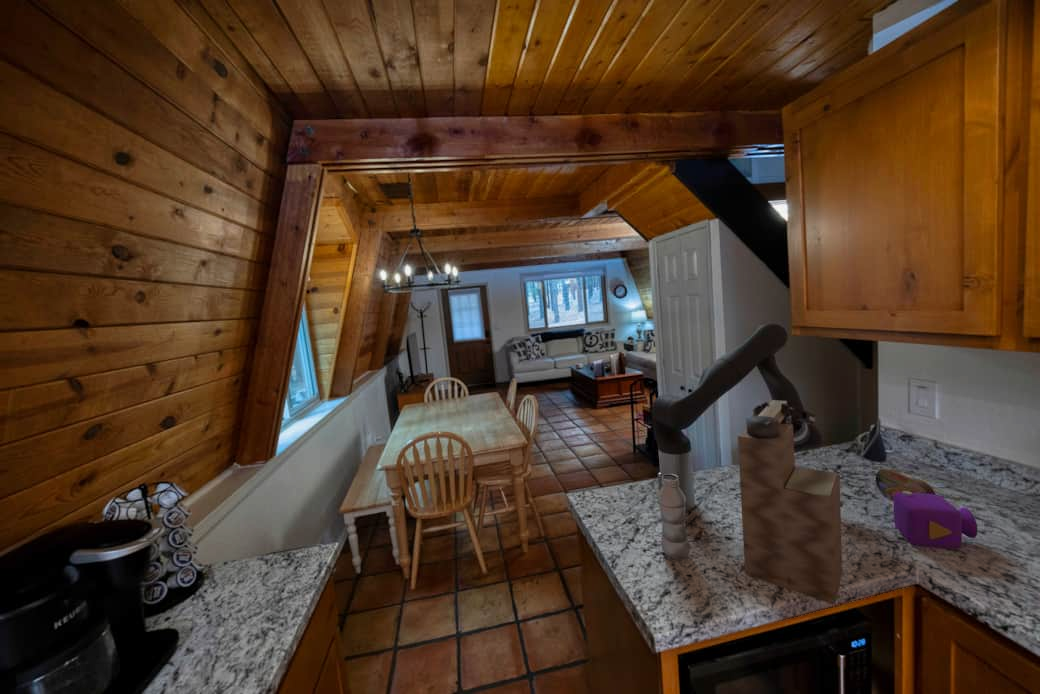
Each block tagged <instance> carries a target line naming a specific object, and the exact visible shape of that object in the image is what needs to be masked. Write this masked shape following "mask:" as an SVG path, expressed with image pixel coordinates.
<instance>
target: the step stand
mask: <svg viewBox="0 0 1040 694" xmlns="http://www.w3.org/2000/svg"><path fill="white" fill-rule="evenodd" d="M779 434H780V435H779V436H778V437H776V438H770V439H763V438H756V437H752V436H749V435H748V434H747V426H745V428H744V429H743V430H742V431H741V432H740V433H739V434H738V435H737V446H738V447H737V448H738V464H739V467H738V468H739V481H740V482H739V483H740V484H739V485H740V503H741V519H742V520H741V522H742V538H743V539H742V542H743V557H744V559H743V560H744V574H745V575H746V576H748V577H752V578H755V579H757V580H761V581H763V582H766V583H769V584H772V585H775V586H778V587H781V588H784V589H786V590H789V591H791V592H796V593H798V594H802V595H805V596H807V597H809V598H810V597H811V598H813V599H816V600H819V601H821V602H824V603H827V604H831V605H834V606H836V604H837V599H838V594H839V589H840V586H841V585H840V583H841V578H842V574H843V558H842V557H843V556H842V555H843V554H842V553H843V552H842V518H841V515H842V514H841V513H842V512H841V486H840V485H841V483H840V482H841V480H840V478H841V475H840V474H838V473H837V472H831V471H827V470H826V471H825V470H821V469H820V470H818V469H813V468H808V467H802V466H795V452H794V439H793V425H792V424H782V423H780V424H779Z"/></svg>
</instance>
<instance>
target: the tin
mask: <svg viewBox="0 0 1040 694" xmlns="http://www.w3.org/2000/svg"><path fill="white" fill-rule="evenodd" d="M875 485H876V487H877V489H878V490H879V493H880V494H882V496H884V498H886V499H887V500H889V501H891V502H894V494H895V493H898V492H903V491H909V492H912V493H922V494H935V495H937V494H936V492H935V490H934V489H933V487H932V486H931V485H930V484H928V482H926V481H925V480H922V479H919V478H917V477H915V476H912V475H910V474H907V473H905V472H902V471H900V470H898V469H895V468H882V469H879V470H878V471H877V473H876V475H875Z"/></svg>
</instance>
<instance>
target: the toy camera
mask: <svg viewBox="0 0 1040 694" xmlns="http://www.w3.org/2000/svg"><path fill="white" fill-rule="evenodd" d="M935 494H936V493H935ZM935 494H922V493H912V492H909V491H903V492H898V493H895V494H894V501H893V522H894V525H895V527H896V528H897V529H898V531H900V533H901V534H902V535H903V537H904V538H905V539H906V540H907V541H908V542H909V543H911V544H912V545H915V546H923V547H931V548H941V549H942V548H943V549H953V550H956V549H960V548H961V547H962V542H963V538H962V537H963V535H965V536H966V537H968V538H971V539H974V538H976V537H977V535H978V533H979V531H978V524H977V523H978V522H977V521H976V518H975V515H974V514H973V513H972V511H971V510H970V509H969V508H968V507H962V508H959V509H957V508H956V507H955V506H954V505H953V504H952V503H950V502H949V501H948V500H947V499H945V498H944V497H942V496H941V495H938V494H936V495H935Z"/></svg>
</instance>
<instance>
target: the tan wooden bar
mask: <svg viewBox="0 0 1040 694" xmlns="http://www.w3.org/2000/svg"><path fill="white" fill-rule="evenodd" d="M768 403H769V405H768V406H767V407H766V408H765V409H764V410H763V411H762V412H761V413H760V414H759V415H758V416H753V415H752V416H749V417H747V418H746V419H745V420H746V422H745V423H746V427H747V434H748V435H749V436H752V437H756V438H763V439H770V438H776V437H778V436H779V435H780V434H779V424H780V422H781V421H782V420H783V418H784V417H785V416H784V415H783V414H782V412H781V409H782V408H781V404H786V405H787V401H779V400H772V399H771V401H770V402H768Z"/></svg>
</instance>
